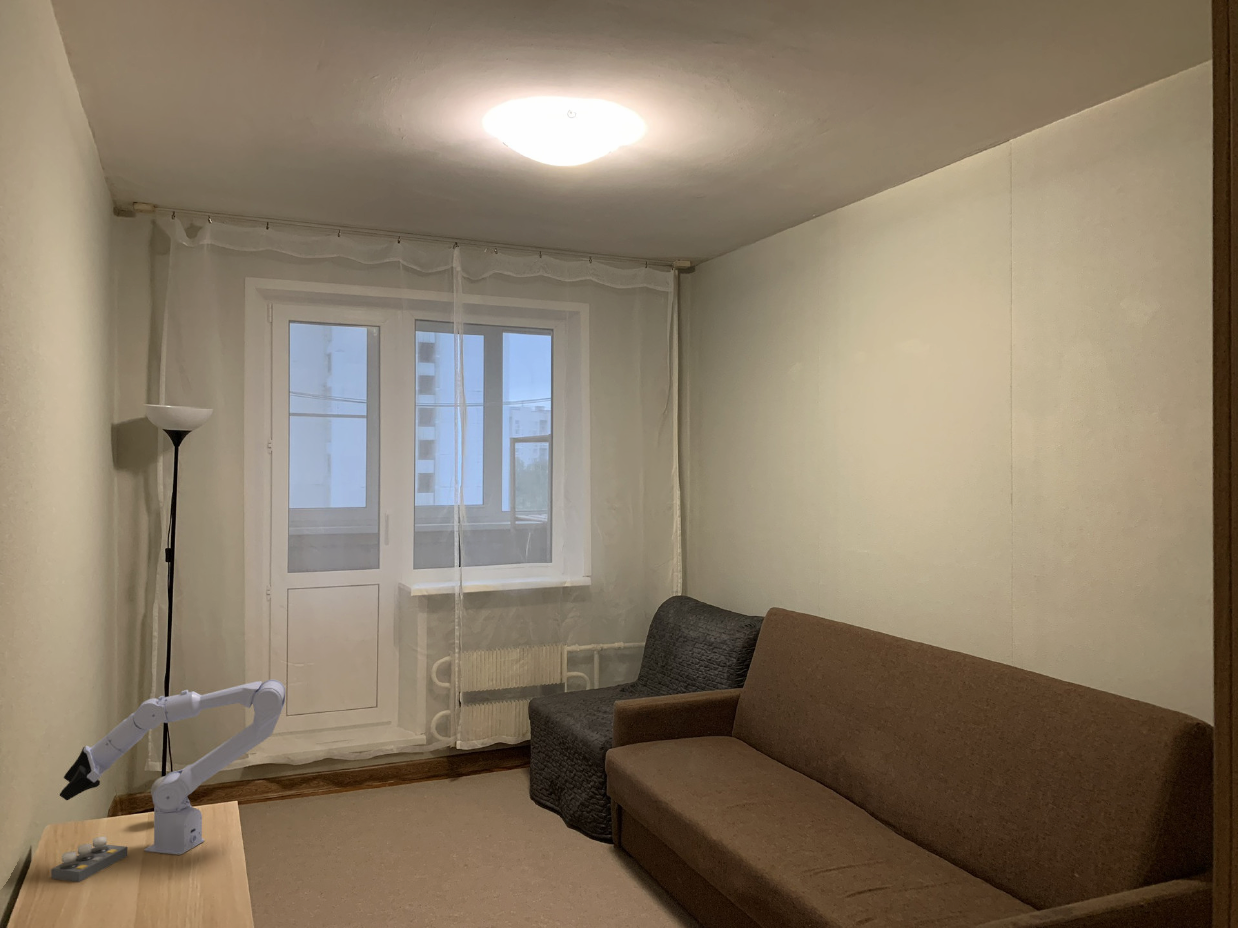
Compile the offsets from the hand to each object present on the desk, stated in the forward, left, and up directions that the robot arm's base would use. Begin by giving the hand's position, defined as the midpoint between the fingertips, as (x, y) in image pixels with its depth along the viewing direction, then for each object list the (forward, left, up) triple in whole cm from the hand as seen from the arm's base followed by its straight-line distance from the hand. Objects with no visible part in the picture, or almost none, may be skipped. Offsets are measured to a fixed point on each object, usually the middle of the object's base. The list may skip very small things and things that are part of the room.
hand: (65, 788), depth 194 cm
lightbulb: (-7, -22, -15) cm, 28 cm away
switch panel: (-9, +3, -15) cm, 18 cm away
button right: (-8, -1, -12) cm, 14 cm away
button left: (-8, +7, -12) cm, 16 cm away
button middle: (-8, +3, -12) cm, 15 cm away
